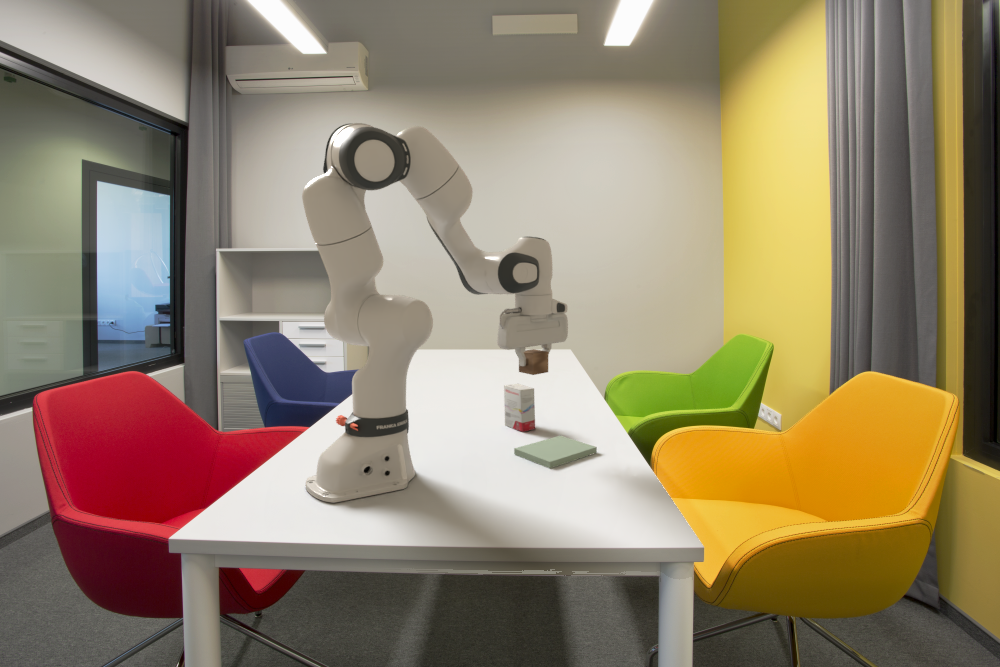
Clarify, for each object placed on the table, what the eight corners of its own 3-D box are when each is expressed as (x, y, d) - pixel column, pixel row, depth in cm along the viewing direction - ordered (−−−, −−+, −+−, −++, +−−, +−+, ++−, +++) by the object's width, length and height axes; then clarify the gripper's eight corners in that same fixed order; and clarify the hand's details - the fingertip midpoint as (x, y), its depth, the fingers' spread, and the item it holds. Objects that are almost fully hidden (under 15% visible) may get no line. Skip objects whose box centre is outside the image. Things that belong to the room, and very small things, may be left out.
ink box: (535, 429, 150) (536, 388, 149) (521, 432, 147) (521, 390, 146) (517, 422, 157) (517, 382, 156) (503, 425, 154) (503, 384, 153)
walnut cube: (533, 375, 126) (533, 353, 126) (518, 371, 130) (518, 351, 130) (548, 372, 130) (548, 351, 129) (533, 369, 133) (533, 349, 133)
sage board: (549, 468, 121) (549, 461, 120) (514, 454, 130) (514, 448, 130) (596, 453, 131) (596, 447, 131) (560, 441, 140) (560, 435, 140)
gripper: (509, 310, 119) (509, 371, 121) (572, 304, 132) (571, 360, 134) (491, 308, 124) (491, 367, 125) (553, 303, 137) (553, 357, 138)
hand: (533, 364), depth 130 cm, fingers closed on walnut cube, 5 cm apart
